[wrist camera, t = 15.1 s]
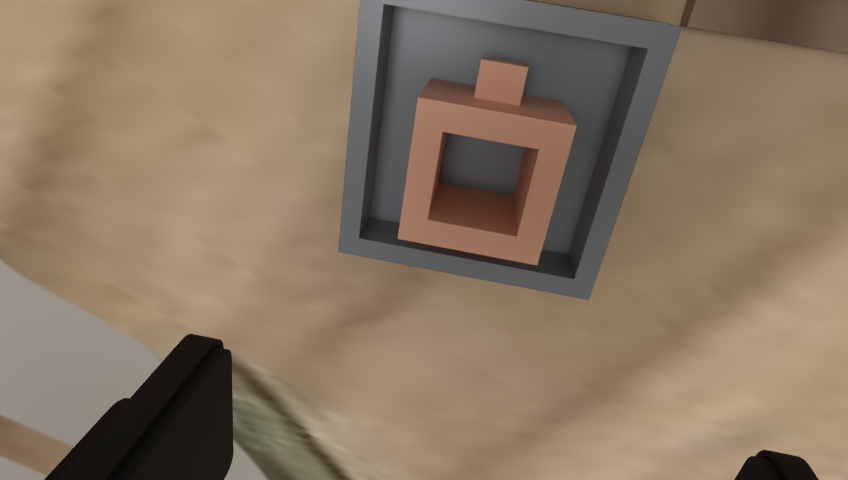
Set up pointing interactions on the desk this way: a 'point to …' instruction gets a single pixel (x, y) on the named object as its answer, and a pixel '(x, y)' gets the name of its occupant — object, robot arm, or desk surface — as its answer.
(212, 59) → the desk surface
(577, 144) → the tray
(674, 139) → the desk surface
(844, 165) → the desk surface
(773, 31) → the board
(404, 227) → the ring
